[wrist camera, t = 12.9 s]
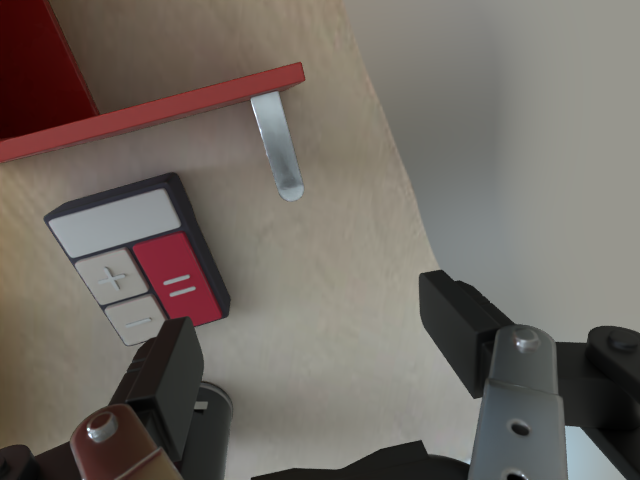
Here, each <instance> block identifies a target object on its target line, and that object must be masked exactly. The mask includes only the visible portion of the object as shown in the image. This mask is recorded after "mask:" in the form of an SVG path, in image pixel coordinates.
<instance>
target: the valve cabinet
mask: <svg viewBox="0 0 640 480" xmlns="http://www.w3.org/2000/svg"><path fill="white" fill-rule="evenodd" d="M98 115H100V114H99V111H98V109H97V107H96V105H95V103H94V100H93V98H92V96H91V94H90V92H89V89H88V87H87V85H86V83H85V81H84V78H83V76H82V74H81V72H80V70H79V67H78V65H77V63H76V61H75V59H74V56H73V54H72V52H71V50H70V48H69V46H68V43H67V41H66V39H65V37H64V35H63V32H62V30H61V28H60V26H59V24H58V21H57V19H56V17H55V15H54V13H53V10H52V8H51V6H50V4H49V2H48V0H0V141H4V140H8V139H11V138H15V137H19V136H23V135H26V134H30V133H34V132H38V131H41V130H45V129H49V128H53V127H57V126H60V125H64V124H68V123H72V122H75V121H79V120H83V119H87V118H90V117H94V116H98Z"/></svg>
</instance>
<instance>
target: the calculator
mask: <svg viewBox="0 0 640 480" xmlns="http://www.w3.org/2000/svg"><path fill="white" fill-rule="evenodd" d="M44 221H45V223H46V225H47V226H48V228H49V229H50V231H51V232H52V234H53V235H54V237H55V239H56V240H57V242H58V243H59V245H60V246H61V248H62V249H63V251H64V252H65V254H66V255H67V257H68V258H69V260H70V261H71V263H72V265H73V266H74V268H75V269H76V271H77V272H78V274H79V275H80V277H81V278H82V280H83V281H84V283H85V284H86V286H87V288H88V289H89V291H90V292H91V294H92V295H93V297H94V298H95V300H96V301H97V303H98V304H99V306H100V307H101V309H102V310H103V312H104V314H105V315H106V317H107V318H108V320H109V321H110V323H111V324H112V326H113V327H114V329H115V330H116V332H117V333H118V335H119V336H120V338H121V340H122V341H123V343H124V344H125V345H126V346H133V345H136V344H139V343H143V342H146V341H148V340H149V339H150V338H153V337H157V335H158V333H159V331H160V329H161V327H162V325H163V323H164V321H165V320H169V319H174V318H180V317H185V316H189V317H190V318H191V320H192V322H193V325H194V327H196V326H200V325H203V324H206V323H210V322H213V321H216V320H220V319H223V318H226V317H227V316H228V315H229V308H230V301H231V299H230V296H229V294H228V292H227V289H226V287H225V285H224V283H223V280H222V278H221V276H220V274H219V271H218V269H217V267H216V265H215V262H214V260H213V258H212V256H211V253H210V251H209V249H208V247H207V244H206V242H205V240H204V238H203V235H202V233H201V231H200V229H199V226H198V224H197V222H196V219H195V217H194V213H193V209H192V206H191V204H190V201H189V199H188V197H187V195H186V192H185V190H184V188H183V185H182V183H181V181H180V179H179V177H178V175H177V174H176V173H174V172H172V173H168V174H164V175H161V176H157V177H154V178H150V179H146V180H143V181H139V182H136V183H132V184H129V185H125V186H122V187H118V188H115V189H111V190H108V191H104V192H101V193H97V194H94V195H90V196H87V197H83V198H80V199H76V200H73V201H69V202H66V203H64V204H62V205H61V206H59V207H58V208H56V209H55V210H53V211H51V212H50V213H48V214H47V215H45V216H44Z"/></svg>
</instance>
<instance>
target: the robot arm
mask: <svg viewBox="0 0 640 480" xmlns="http://www.w3.org/2000/svg"><path fill="white" fill-rule="evenodd" d="M419 302H420V316H421V320H422V323H423V326H424V328H425V329H426V331H427V332H428V334H429V335H430V337H431V338H432V339H433V341H434V342H435V344H436V345H437V347H438V348H439V350H440V351H441V352H442V354H443V355H444V357H445V358H446V360H447V361H448V363H449V364H450V365H451V367H452V368H453V370H454V371H455V373H456V374H457V376H458V377H459V378H460V380H461V381H462V383H463V384H464V386H465V387H466V388H467V390H468V391H469V393H470V394H471V396H472V397H473V399H476V398H481V397H482V402H481V408H480V413H479V419H478V424H477V430H476V436H475V441H474V447H473V452H472V458H471V463H470V465H469V464H467V463H464V462H461V461H459V460H456V459H453V458H449V457H445V456H440V455H432V454H427V451H426V449H425V447H424V445H423V443H422V440H419V441H415V442H410V443H405V444H401V445H396V446H392V447H387V448H383V449H380V450H378V451H376V452H374V453H372V454H370V455H368V456H366V457H364V458H362V459H360V460H358V461H356V462H354V463H352V464H350V465H348V466H346V467H344V468H342V469H337V470H332V469H304V468H292V469H288V470H283V471H279V472H274V473H270V474H265V475H261V476H256V477H252V478H251V480H568V472H567V471H568V470H567V454H566V437H565V426H576V427H580V428H581V429H582V430H583V431H584V432H585V433H586V434H587V435H588V436H589V438H590V439H591V440H592V441H593V442H594V443H595V444H596V446H597V447H598V448H599V449H600V450H601V451H602V452H603V454H604V455H605V456H606V457H607V458H608V459H609V460H610V462H611V463H612V464H613V465H614V466H615V467H616V468H617V469H618V471H619V472H620V473H621V474H622V475H623V476H624V477H625V478H626V479H627V480H640V333H638V332H636V331H633V330H630V329H626V328H622V327H616V326H600V327H596V328H594V329H592V330H590V332H589V334H588V339H587V343H573V342H572V343H571V342H555V341H554V339H553V338H552V337H551V336H550V335H549V334H547V333H546V332H544V331H542V330H540V329H538V328H535V327H532V326H528V325H521V324H515V323H514V322H512V321H511V320H510V319H509V318H508V317H507V316H506V315H505V314H503V313H502V312H501V311H500V310H499V309H498V308H497V307H495V305H493V304H492V303H490V301H489V300H488V299H487V298H486V297H484V296H482V294H481V293H480V292H479V291H478V290H477V289H475V288H474V287H473V286H471V285H469V284H467V283H464V282H462V281H454V280H453V279H451V278H450V277H449V276H448V275H447V274H446V273H445V272H444V271H443V270H436V271H431V272H425V273H421V274H420V275H419ZM203 370H204V360H203V354H202V351H201V347H200V344H199V341H198V338H197V335H196V332H195V329H194V325H193V322H192V320H191V318H190V317H189V316H185V317H180V318H174V319H169V320H165V321H164V323H163V325H162V327H161V329H160V331H159V333H158V335H157V337H153V338H150V339H149V340H148V341H147V342H146V343H144V344H143V345H142V346H141V347H140V348H139V349H138V351H137V353H136V355H135V356H134V358H133V360H132V363H131V364H130V366H129V368H128V369H127V373H125V375H124V377H123V379H122V380H121V382H120V384H119V386H118V388H117V390H116V392H115V393H114V395H113V397H112V399H111V401H110V403H109V404H108V406H106V407H104V408H101V409H99V410H98V411H96V412H94V413H93V414H91V415H90V416H88V417H87V418H86V419H84V420H83V421H82V422H81V423H80V424H79V425H78V426H77V428H76V429H75V430H74V432H73V434H72V436H71V438H70V441H69V442H67V443H65V444H62V445H60V446H58V447H55V448H53V449H51V450H48V451H46V452H44V453H42V454H39V455H37V456H35V457H34V455H33V454H32V452H31V451H30V449H29V448H28V447H27V446H25V445H12V446H8V447H5V448H3V449H0V480H224V477H225V469H226V460H227V451H228V442H229V434H230V425H231V421H232V415H233V406H232V402H231V400H230V398H229V397H228V395H227V394H226V393H225V392H224V391H222V390H221V389H219V388H218V387H216V386H214V385H211V384H208V383H203V382H201V379H202V375H203Z"/></svg>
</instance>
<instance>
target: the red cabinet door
mask: <svg viewBox="0 0 640 480" xmlns="http://www.w3.org/2000/svg"><path fill="white" fill-rule="evenodd" d="M303 81H305V76H304V71H303V67H302V63H301V62H298V63H294V64H290V65H286V66H283V67H279V68H275V69H271V70H268V71H264V72H260V73H256V74H252V75H249V76H245V77H241V78H237V79H234V80H230V81H226V82H222V83H219V84H215V85H211V86H207V87H203V88H200V89H196V90H192V91H188V92H185V93H181V94H177V95H173V96H170V97H166V98H162V99H158V100H154V101H151V102H147V103H143V104H139V105H136V106H132V107H128V108H124V109H121V110H117V111H113V112H109V113H106V114H102V115H98V116H94V117H90V118H87V119H83V120H79V121H75V122H72V123H68V124H64V125H60V126H57V127H53V128H49V129H45V130H41V131H38V132H34V133H30V134H26V135H23V136H19V137H15V138H11V139H8V140H4V141H0V163H4V162H8V161H12V160H16V159H21V158H25V157H29V156H33V155H37V154H42V153H46V152H50V151H54V150H58V149H63V148H67V147H71V146H75V145H79V144H83V143H88V142H92V141H96V140H100V139H104V138H109V137H113V136H117V135H121V134H125V133H128V132H132V131H136V130H139V129H143V128H147V127H151V126H154V125H158V124H162V123H166V122H169V121H173V120H177V119H180V118H184V117H188V116H192V115H195V114H199V113H203V112H207V111H210V110H214V109H218V108H222V107H225V106H229V105H233V104H236V103H240V102H244V101H248V100H251V103H252V106H253V110H254V113H255V116H256V120H257V123H258V126H259V130H260V133H261V136H262V140H263V143H264V146H265V149H266V153H267V156H268V159H269V163H270V166H271V169H272V173H273V176H274V179H275V183H276V186H277V189H278V192H279V195H280V196H281V198H283V199H284V200H286V201H289V202H293V201H297V200H298V199H300V198H301V197H302V195H303V193H304V184H303V180H302V176H301V172H300V169H299V165H298V161H297V158H296V154H295V150H294V147H293V143H292V139H291V135H290V132H289V128H288V124H287V121H286V117H285V113H284V110H283V106H282V102H281V98H280V95H279V92H281V91H285V90H287V89H289V88H291V87H293V86H295V85H297V84H299V83H301V82H303Z"/></svg>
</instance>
